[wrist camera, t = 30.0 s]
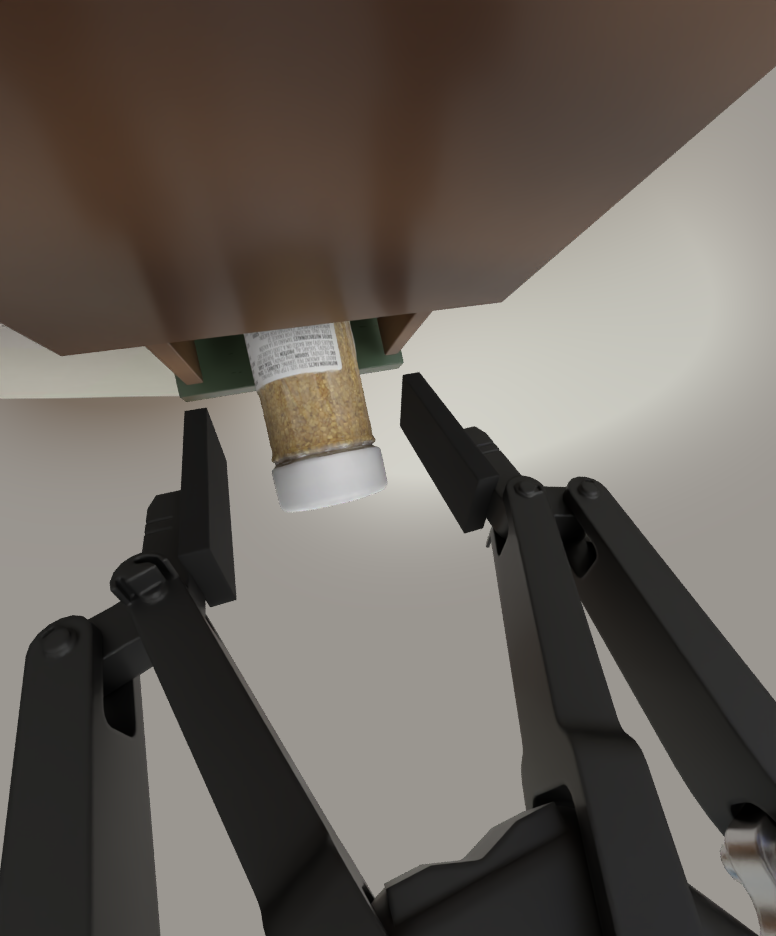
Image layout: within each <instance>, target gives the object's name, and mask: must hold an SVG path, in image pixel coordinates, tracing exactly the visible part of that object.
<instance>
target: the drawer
mask: <svg viewBox="0 0 776 936" xmlns="http://www.w3.org/2000/svg"><path fill="white" fill-rule="evenodd" d="M431 312H432V311H426V312H418V313H410V314H401V315H393V316H385V317H377V318H369V319H361V320H352V321H350V326H351V331H352V334H353V339H354V344H355V350H356V359H357V363H358V369H359V374H365V373H372V372H379V371H385V370H391V369H397V368H399V367H400V366H401V365H402V364H403V357H402V353H401V349H402V348H403V346H404V345H405V344H406V343H407V341H408V340H409V339H410V338H411V337H412V335H413V334H414V333H415V332H416V331H417V329H418V328H419V327H420V326H421V324H422V323H423V322H424V321H425V320H426V318H427V317H428V316H429V315H430V313H431ZM145 347H146V348H147V349H148V350H150V351H151V352H152V353H153V354H154V355H155V356H156V357H157V358H158V359H159V360H160V361H161V362H163V363H164V364H165V365H166V366H167V367H168V368H169V369H170V370H171V371H172V372H173V373H174V374H175V378H176V383H177V387H178V391H179V396H180V398H182V399H183V400H184V401H186V402H190V401H196V400H202V399H209V398H215V397H221V396H227V395H234V394H240V393H246V392H253V391H256V387H255V383H254V378H253V374H252V369H251V365H250V360H249V356H248V351H247V347H246V342H245V338H244V334H238V335H230V336H222V337H214V338H205V339H197V340H189V341H181V342H173V343H165V344H156V345H148V346H145Z"/></svg>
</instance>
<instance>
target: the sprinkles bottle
mask: <svg viewBox="0 0 776 936" xmlns="http://www.w3.org/2000/svg"><path fill="white" fill-rule="evenodd" d="M244 338H245V342H246V347H247V351H248V356H249V360H250V365H251V369H252V374H253V378H254V383H255V387H256V391H257V393H258V395H259V397H260V400H261V405H262V409H263V412H264V419H265V422H266V427H267V432H268V437H269V440H270V446H271V448H272V462H273V463H275V465H276V467H275V468H274V469H273V470H272V475H273V480H274V484H275V489H276V492H277V496H278V500H279V504H280V507H281V509H282V510H283V511H285V512H298V511H308V510H314V509H319V508H325V507H329V506H333V505H338V504H342V503H346V502H350V501H354V500H358V499H361V498H364V497H367V496H370V495H372V494H375V493H378V492H380V491H382V490H384V489H385V488H386V486H387V478H386V473H385V468H384V463H383V459H382V454H381V450H380V448H379V447H376V446H373V445H372V443H374V442H375V438H374V436H373V435H372V430H371V424H370V420H369V416H368V411H367V407H366V402H365V397H364V391H363V388H362V383H361V378H360V374H359V369H358V363H357V359H356V350H355V344H354V339H353V334H352V331H351V326H350V321H344V322H336V323H328V324H320V325H312V326H303V327H295V328H287V329H279V330H271V331H263V332H254V333H246V334H244Z"/></svg>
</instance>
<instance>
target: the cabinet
mask: <svg viewBox="0 0 776 936" xmlns="http://www.w3.org/2000/svg"><path fill="white" fill-rule="evenodd" d="M775 66H776V0H0V323H1V324H3V325H5V326H7V327H9V328H11V329H12V330H14V331H16V332H18V333H20V334H21V335H23V336H25V337H27V338H29V339H31V340H32V341H34V342H36V343H38V344H40V345H42V346H43V347H45V348H47V349H49V350H51V351H53V352H54V353H56V354H58V355H60V356H66V355H75V354H83V353H91V352H99V351H107V350H115V349H124V348H132V347H140V346H148V345H156V344H165V343H173V342H181V341H189V340H197V339H205V338H214V337H222V336H230V335H238V334H246V333H254V332H263V331H271V330H279V329H287V328H295V327H303V326H312V325H320V324H328V323H336V322H344V321H352V320H361V319H369V318H377V317H385V316H393V315H401V314H410V313H418V312H426V311H434V310H442V309H450V308H458V307H467V306H474V305H483V304H491V303H498V302H502V301H503V300H505V299H506V298H507V297H508V296H509V295H510V294H512V293H513V292H514V291H515V290H516V289H518V288H519V287H520V286H521V285H522V284H523V283H524V282H526V281H527V280H528V279H529V278H530V277H531V276H533V275H534V274H535V273H536V272H537V271H538V270H540V269H541V268H542V267H543V266H544V265H545V264H546V263H548V262H549V261H550V260H551V259H552V258H554V257H555V256H556V255H557V254H558V253H559V252H560V251H562V250H563V249H564V248H565V247H566V246H567V245H569V244H570V243H571V242H572V241H573V240H574V239H576V238H577V237H578V236H579V235H580V234H581V233H582V232H584V231H585V230H586V229H587V228H588V227H590V226H591V225H592V224H593V223H594V222H595V221H597V220H598V219H599V218H600V217H601V216H602V215H603V214H605V213H606V212H607V211H608V210H609V209H610V208H611V207H613V206H614V205H615V204H616V203H617V202H619V201H620V200H621V199H622V198H623V197H624V196H626V195H627V194H628V193H629V192H630V191H631V190H632V189H634V188H635V187H636V186H637V185H638V184H639V183H641V182H642V181H643V180H644V179H645V178H646V177H648V176H649V175H650V174H651V173H652V172H653V171H654V170H656V169H657V168H658V167H659V166H660V165H661V164H662V163H664V162H665V161H666V160H667V159H669V158H670V157H671V156H672V155H673V154H674V153H676V151H678V150H679V149H680V148H681V147H682V146H684V145H685V144H686V143H687V142H688V141H689V140H691V139H692V138H693V137H694V136H695V135H696V134H698V133H699V132H700V131H701V130H702V129H703V128H705V127H706V126H707V125H708V124H709V123H710V122H712V121H713V120H714V119H715V118H716V117H717V116H718V115H720V114H721V113H722V112H723V111H724V110H725V109H727V108H728V107H729V106H730V105H731V104H732V103H734V102H735V101H736V100H737V99H738V98H739V97H741V96H742V95H743V94H744V93H745V92H746V91H748V89H750V88H751V87H752V86H753V85H755V84H756V83H757V82H758V81H759V80H760V79H761V78H763V77H764V76H765V75H766V74H767V73H768V72H770V71H771V70H772V69H773V68H774V67H775Z"/></svg>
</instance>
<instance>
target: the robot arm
mask: <svg viewBox="0 0 776 936" xmlns="http://www.w3.org/2000/svg"><path fill="white" fill-rule="evenodd" d="M402 380H403V381H402V398H401V418H400V426H401V428H402V430H403V432H404V433H405V435H406V437H407V438H408V440H409V442H410V443H411V445H412V447H413V448H414V450H415V452H416V453H417V455H418V457H419V458H420V460H421V462H422V463H423V465H424V467H425V468H426V470H427V472H428V473H429V475H430V477H431V478H432V480H433V482H434V483H435V485H436V487H437V489H438V490H439V492H440V493H441V495H442V497H443V498H444V500H445V502H446V503H447V505H448V507H449V509H450V510H451V512H452V514H453V515H454V517H455V519H456V520H457V522H458V523H459V525H460V527H461V529H462V530H463V532H464V533H468V532H471V531H474V530H478V529H482V528H483V526H484V523H485V520H486V518H487V519H488V521H489V522H490V524H491V525H492V528H491V530H490V533H489V536H488V539H487V542H486V547H489V546H490V543H492V549H493V555H494V562H495V569H496V575H497V582H498V588H499V595H500V601H501V608H502V614H503V621H504V627H505V634H506V640H507V646H508V653H509V659H510V666H511V672H512V678H513V685H514V692H515V698H516V705H517V711H518V718H519V724H520V731H521V737H522V745H523V756H522V764H521V773H522V774H521V775H522V785H523V792H524V799H525V805H526V811H524V812H522V813H520V814H518V815H516V816H514V817H512V818H510V819H508V820H506V821H505V822H503V823H501V824H499V825H497V826H495V827H493V828H492V829H490V830H489V832H488V833H487V834H486V835H485V836H484V837H483V838H482V839H481V840H480V841H479V842H478V843H477V845H476V846H475V847H474V848H473V849H472V850H471V851H470V852H469V853H468V854H467V855H466V857H464V858H463V859H462V860H459V861H451V862H442V863H433V864H425V865H419V866H418V867H416V868H414V869H412V870H410V871H408V872H406V873H404V874H402V875H400V876H398V877H397V878H394V879H392V880H390V881H389V882H387V883H385V884H384V885H385V888H384V889H383V890H382V891H381V892H380V893H379V895H377V897H376V898H375V897H374V896H373V894H372V892H371V891H370V889H369V887H368V885H367V884H366V882H365V880H364V879H363V877H362V875H361V874H360V872H359V870H358V869H357V867H356V865H355V864H354V862H353V860H352V859H351V857H350V855H349V854H348V852H347V851H346V849H345V847H344V846H343V844H342V843H341V841H340V840H339V838H338V836H337V835H336V833H335V831H334V830H333V828H332V826H331V825H330V823H329V822H328V820H327V818H326V816H325V814H324V813H323V811H322V809H321V808H320V806H319V804H318V803H317V801H316V799H315V798H314V796H313V794H312V793H311V791H310V789H309V787H308V786H307V784H306V782H305V781H304V779H303V777H302V776H301V774H300V772H299V770H298V769H297V767H296V765H295V764H294V762H293V760H292V759H291V757H290V755H289V754H288V752H287V750H286V749H285V747H284V745H283V743H282V742H281V740H280V738H279V737H278V735H277V733H276V732H275V730H274V728H273V727H272V725H271V723H270V721H269V720H268V718H267V716H266V715H265V713H264V711H263V710H262V708H261V706H260V705H259V703H258V701H257V699H256V698H255V696H254V694H253V693H252V691H251V689H250V688H249V686H248V684H247V683H246V681H245V679H244V677H243V676H242V674H241V672H240V671H239V669H238V667H237V666H236V664H235V662H234V660H233V659H232V657H231V655H230V654H229V652H228V650H227V649H226V647H225V645H224V644H223V642H222V640H221V638H220V637H219V635H218V633H217V632H216V630H215V629H214V627H213V625H212V623H211V621H210V620H209V618H208V617H207V615H206V614H205V600H206V601H207V603H208V604H209V606H210V607H213V606H217V605H220V604H223V603H226V602H230V601H234V600H236V586H235V573H234V558H233V546H232V531H231V518H230V503H229V489H228V477H227V476H228V475H227V462H226V458H225V456H224V453H223V450H222V448H221V445H220V442H219V440H218V437H217V434H216V432H215V429H214V426H213V424H212V421H211V419H210V416H209V413H208V410H207V408H201V409H195V410H190V411H185V416H184V436H183V456H182V477H181V490H179V491H175V492H170V493H165V494H160V495H156V496H155V498H154V500H153V501H152V503H151V504H150V506H149V507H148V510H147V517H146V525H145V536H144V542H143V549H142V553H140V554H137V555H135V556H132V557H130V558H129V559H127V560H126V561H124V562H123V563H122V564H121V565H120V566H119V567H118V568H117V569H116V570H115V572H114V573H113V576H112V578H111V580H110V590H111V592H113V594H114V595H115V596H116V597H117V598H118V599H119V600H120V602H118V603H117V604H115V605H114V606H112V607H110V608H109V609H107V610H105V611H103V612H102V613H99V614H97V615H96V616H94V617H92V618H90V619H86V618H85V617H83V616H75V615H72V616H68V617H65V618H61V619H59V620H57V621H55V622H53V623H51V624H49V625H48V626H47V627H46V628H45V629H43V630H42V631H41V632H40V633H39V634H38V635H37V636H36V637H35V639H34V640H33V641H32V643H31V644H30V646H29V648H28V651H27V655H26V659H25V668H24V676H23V685H22V693H21V701H20V709H19V718H18V726H17V735H16V743H15V751H14V759H13V768H12V776H11V785H10V793H9V802H8V810H7V818H6V826H5V835H4V843H3V852H2V860H1V868H0V936H160V927H159V926H160V925H159V914H158V901H157V887H156V875H155V862H154V849H153V839H152V838H153V837H152V824H151V811H150V798H149V786H148V773H147V761H146V748H145V736H144V722H143V710H142V697H141V684H140V674H142V673H143V672H145V671H146V670H148V669H149V668H151V667H154V670H155V672H156V674H157V676H158V678H159V681H160V683H161V685H162V687H163V690H164V692H165V694H166V696H167V699H168V701H169V703H170V705H171V708H172V710H173V712H174V714H175V717H176V719H177V721H178V723H179V725H180V728H181V730H182V732H183V735H184V737H185V739H186V741H187V744H188V746H189V748H190V750H191V752H192V755H193V757H194V759H195V761H196V764H197V766H198V768H199V770H200V773H201V775H202V777H203V779H204V781H205V784H206V786H207V788H208V791H209V793H210V795H211V797H212V799H213V802H214V804H215V806H216V808H217V811H218V813H219V815H220V817H221V819H222V822H223V824H224V826H225V828H226V831H227V833H228V835H229V838H230V840H231V842H232V844H233V846H234V849H235V851H236V853H237V855H238V858H239V860H240V862H241V864H242V867H243V869H244V871H245V873H246V875H247V878H248V880H249V882H250V885H251V887H252V889H253V891H254V893H255V896H256V898H257V901H258V903H259V907H260V910H261V915H262V921H263V928H264V931H265V935H266V936H758V935H757V934H755V933H754V932H753V931H752V930H750V929H749V928H747V927H746V926H745V925H744V924H742V923H741V922H740V921H738V920H737V919H736V918H734V917H733V916H731V915H730V914H729V913H727V912H726V911H725V910H723V909H722V908H721V907H719V906H718V905H717V904H715V903H714V902H713V901H711V900H710V899H709V898H707V897H706V896H705V895H703V894H702V893H700V892H699V891H698V890H696V889H695V888H693V887H692V886H691V885H690V884H688V883H687V880H686V877H685V874H684V871H683V868H682V865H681V862H680V859H679V856H678V853H677V850H676V848H675V845H674V841H673V838H672V836H671V833H670V830H669V827H668V824H667V821H666V818H665V815H664V812H663V809H662V806H661V803H660V800H659V797H658V794H657V791H656V788H655V785H654V782H653V779H652V776H651V773H650V770H649V767H648V764H647V762H646V759H645V757H644V755H643V752H642V750H641V749H640V747H639V746H638V744H637V743H636V741H635V740H634V739H633V738H631V737H630V736H629V735H628V734H626V733H625V732H624V730H623V729H622V727H621V725H620V723H619V721H618V718H617V715H616V711H615V708H614V705H613V702H612V699H611V696H610V692H609V689H608V686H607V683H606V680H605V677H604V673H603V670H602V667H601V664H600V661H599V658H598V654H597V651H596V648H595V645H594V641H593V638H592V635H591V632H590V629H589V626H588V623H587V619H586V616H585V613H584V610H583V606H582V604H581V602H582V603H583V605H584V607H585V609H586V610H587V612H588V614H589V616H590V618H591V619H592V621H593V623H594V624H595V626H596V628H597V630H598V632H599V633H600V635H601V637H602V638H603V640H604V642H605V644H606V646H607V647H608V649H609V651H610V653H611V654H612V656H613V658H614V660H615V661H616V663H617V665H618V667H619V669H620V670H621V672H622V674H623V675H624V677H625V679H626V681H627V683H628V684H629V686H630V688H631V690H632V692H633V693H634V695H635V697H636V699H637V700H638V702H639V704H640V706H641V707H642V709H643V711H644V712H645V714H646V716H647V718H648V720H649V721H650V723H651V725H652V727H653V728H654V730H655V732H656V734H657V735H658V737H659V739H660V741H661V743H662V744H663V746H664V748H665V750H666V751H667V753H668V755H669V757H670V758H671V760H672V762H673V764H674V766H675V767H676V769H677V770H678V772H679V774H680V775H681V777H682V779H683V780H684V782H685V783H686V785H687V787H688V788H689V790H690V792H691V793H692V794H693V796H694V797H695V799H696V800H697V801H698V803H699V804H700V806H701V807H702V808H703V810H704V811H705V812H706V814H707V815H708V817H709V818H710V819H711V821H712V822H713V823H714V824H715V826H716V827H717V828H718V829H719V831H720V832H721V833H722V834H723V836H724V837H725V844H723V845H722V847H721V850H720V855H721V861H722V863H723V865H724V867H725V869H726V870H727V872H728V873H729V874H730V875H731V876H732V878H733V879H735V880H736V881H737V882H739V883H740V884H743V886H744V888H745V889H746V891H747V892H748V894H749V895H750V898H751V900H752V902H753V905H754V907H755V909H756V912H757V916H758V920H759V924H760V936H776V702H775V700H774V699H773V698H772V697H771V695H770V694H769V693H768V691H767V690H766V689H765V688H764V686H763V685H762V684H761V683H760V681H759V680H758V679H757V677H756V676H755V675H754V674H753V672H752V671H751V670H750V669H749V667H748V666H747V665H746V664H745V663H744V661H743V660H742V659H741V657H740V656H739V655H738V654H737V652H736V651H735V650H734V649H733V647H732V646H731V645H730V643H729V642H728V641H727V640H726V638H725V637H724V636H723V635H722V634H721V632H720V631H719V630H718V628H717V627H716V626H715V625H714V623H713V622H712V621H711V620H710V618H709V617H708V616H707V614H706V613H705V612H704V611H703V610H702V608H701V607H700V606H699V604H698V603H697V602H696V601H695V599H694V598H693V597H692V596H691V594H690V593H689V592H688V591H687V589H686V588H685V587H684V586H683V584H682V583H681V582H680V580H679V579H678V578H677V577H676V575H675V574H674V573H673V572H672V570H671V569H670V568H669V567H668V565H667V564H666V563H665V562H664V560H663V559H662V558H661V557H660V555H659V554H658V553H657V552H656V550H655V549H654V548H653V546H652V545H651V544H650V543H649V541H648V540H647V539H646V538H645V536H644V535H643V534H642V533H641V531H640V530H639V529H638V528H637V526H636V525H635V524H634V523H633V521H632V520H631V519H630V517H629V516H628V515H627V514H626V512H624V510H623V509H622V507H621V506H620V505H619V504H618V503H617V501H616V500H615V499H614V497H613V496H612V495H611V494H610V492H609V491H608V490H607V489H606V488H605V487H604V486H603V485H602V484H601V483H599V482H598V481H596V480H594V479H591V478H587V477H576V478H573V479H571V481H570V482H569V483H568V485H567V487H545V486H543V485H542V484H541V483H540V482H539V481H537V480H535V479H533V478H531V477H527V476H522V475H521V474H520V473H519V472H518V471H517V470H516V468H515V467H514V466H513V465H512V464H511V463H510V461H509V460H508V459H507V458H506V456H505V455H504V454H503V453H502V452H501V451H499V448H498V447H497V446H496V445H495V444H494V443H493V441H492V440H491V439H490V437H489V436H488V435H487V434H486V433H485V432H483V431H482V430H480V429H478V428H477V427H470V428H466V429H463V428H462V426H461V425H460V424H459V422H458V421H457V420H456V419H455V417H454V416H453V415H452V414H451V412H450V411H449V410H448V408H447V407H446V406H445V405H444V403H443V402H442V401H441V400H440V398H439V397H438V396H437V394H436V393H435V392H434V390H433V389H432V388H431V387H430V385H429V384H428V383H427V382H426V380H425V379H424V378H423V376H422V375H421V374H420V373H419V372H418V373H411V374H406V375H403V379H402Z"/></svg>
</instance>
